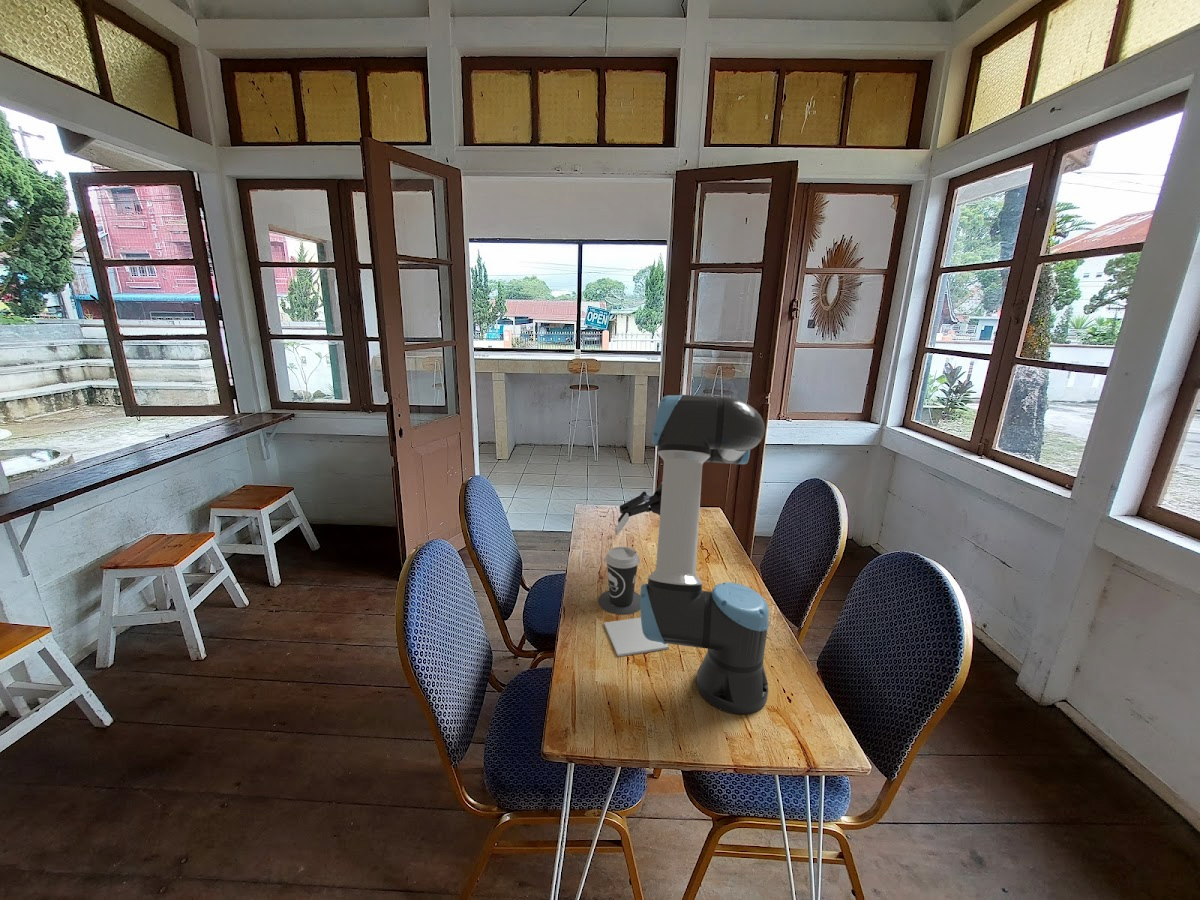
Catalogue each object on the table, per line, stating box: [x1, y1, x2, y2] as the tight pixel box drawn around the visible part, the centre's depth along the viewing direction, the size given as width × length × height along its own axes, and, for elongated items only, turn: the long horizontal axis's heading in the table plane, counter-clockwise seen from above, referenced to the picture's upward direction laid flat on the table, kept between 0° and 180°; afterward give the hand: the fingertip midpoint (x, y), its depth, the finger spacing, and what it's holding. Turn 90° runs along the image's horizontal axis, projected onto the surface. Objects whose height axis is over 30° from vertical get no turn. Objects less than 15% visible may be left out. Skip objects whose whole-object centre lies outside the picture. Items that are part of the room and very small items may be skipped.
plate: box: [603, 617, 670, 658], centre depth 126 cm, size 13×13×1 cm
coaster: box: [597, 589, 641, 616], centre depth 141 cm, size 13×13×1 cm
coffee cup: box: [605, 546, 640, 607], centre depth 139 cm, size 10×10×15 cm
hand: (637, 541), depth 139 cm, fingers open, 13 cm apart
